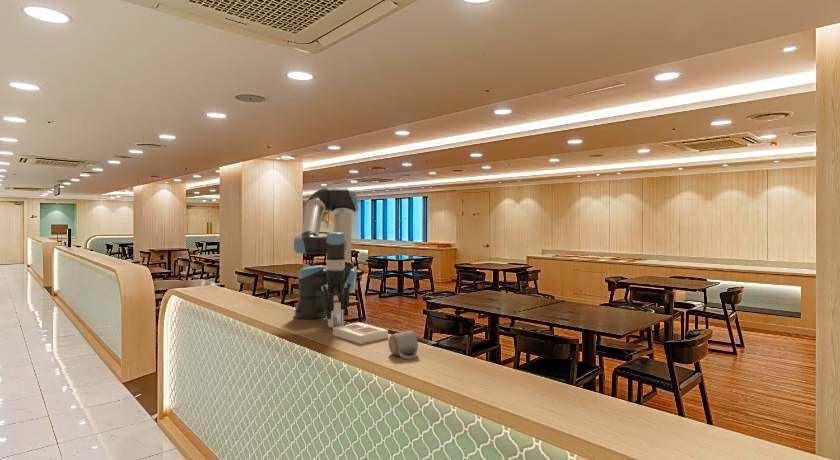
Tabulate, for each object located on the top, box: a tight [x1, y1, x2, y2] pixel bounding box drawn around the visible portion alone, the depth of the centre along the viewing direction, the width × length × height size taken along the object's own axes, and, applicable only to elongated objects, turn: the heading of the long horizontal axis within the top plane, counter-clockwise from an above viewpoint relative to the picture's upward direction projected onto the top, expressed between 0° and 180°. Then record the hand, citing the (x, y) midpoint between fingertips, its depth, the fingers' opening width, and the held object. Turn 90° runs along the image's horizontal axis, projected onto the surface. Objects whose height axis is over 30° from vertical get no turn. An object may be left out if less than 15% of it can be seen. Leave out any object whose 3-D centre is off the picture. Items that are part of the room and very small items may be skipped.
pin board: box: [332, 322, 389, 345], centre depth 179 cm, size 18×13×3 cm
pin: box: [330, 300, 342, 330], centre depth 192 cm, size 4×4×11 cm
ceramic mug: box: [388, 330, 419, 360], centre depth 154 cm, size 11×8×8 cm
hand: (335, 325), depth 192 cm, fingers closed on pin, 4 cm apart
